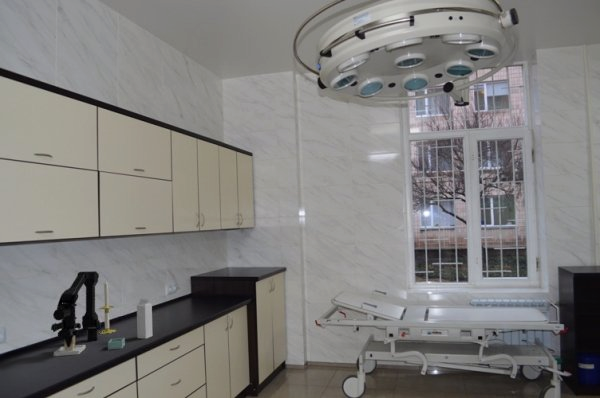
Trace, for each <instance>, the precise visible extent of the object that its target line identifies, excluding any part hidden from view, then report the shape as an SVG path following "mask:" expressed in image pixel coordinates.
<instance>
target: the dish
mask: <svg viewBox="0 0 600 398" xmlns="http://www.w3.org/2000/svg"><path fill="white" fill-rule="evenodd" d="M84 350H86V344H81V345H80V344H77V345H76V344H75V348H74V349H68V350H65V345H64V346H60V347H59V348H58V349H57V350H55V351H54V352H53V357H61V356H62V357H63V356H75V355H80V354H81V353H82V352H83V351H84Z"/></svg>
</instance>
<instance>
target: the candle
mask: <svg viewBox="0 0 600 398" xmlns="http://www.w3.org/2000/svg"><path fill="white" fill-rule="evenodd" d="M103 287H104V289H103V290H104V306H100V307H99V310H104V329H103V330H101V331H102V332H101V333H100V331H99V332H98V334H99V333H100V334H99V335H107V334H106V333H109V334H113V333H115V332H116V331H117V330H116V329H110V309H113V308H115V306H114V305H109V282H107V280H105V282H104V283H103ZM103 331H104V332H103ZM112 332H113V333H112Z"/></svg>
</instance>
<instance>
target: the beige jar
mask: <svg viewBox="0 0 600 398" xmlns="http://www.w3.org/2000/svg"><path fill="white" fill-rule="evenodd" d="M64 346H65V350H68V349H74V348H75V346H76V337H75V336H73V339H72V342H71V345H70V347H67V344H66V342H65V341H64Z"/></svg>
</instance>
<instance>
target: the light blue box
mask: <svg viewBox="0 0 600 398" xmlns="http://www.w3.org/2000/svg"><path fill="white" fill-rule="evenodd" d="M124 346H126V337H120V338H111V339H110V340H108V341H107V350H109V351H111V350H119V349H120V350H121V349H123V348H124Z"/></svg>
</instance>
